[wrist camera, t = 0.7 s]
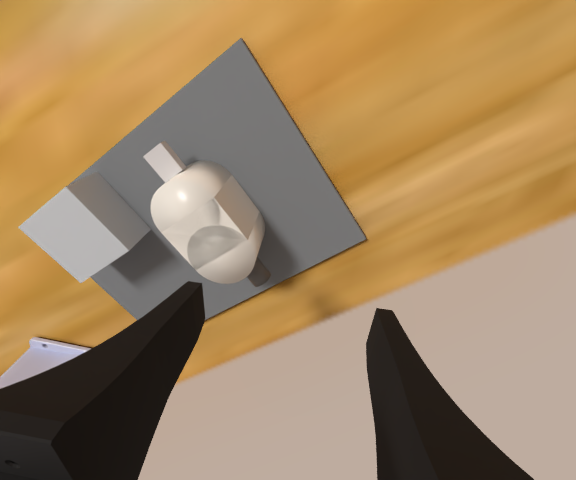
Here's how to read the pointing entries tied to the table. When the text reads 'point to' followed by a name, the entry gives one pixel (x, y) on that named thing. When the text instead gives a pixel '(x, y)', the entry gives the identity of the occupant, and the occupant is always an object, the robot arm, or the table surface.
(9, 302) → the table surface
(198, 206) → the plug
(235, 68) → the mat
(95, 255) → the block
